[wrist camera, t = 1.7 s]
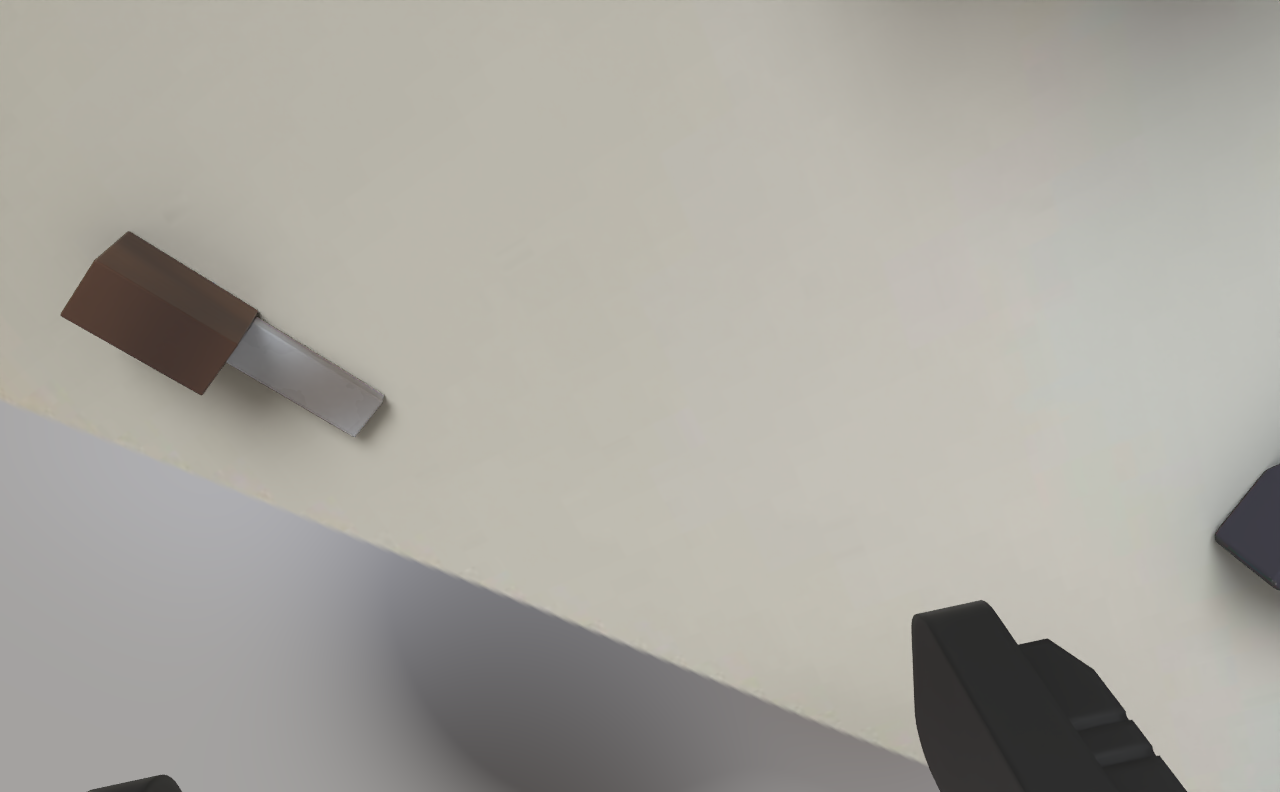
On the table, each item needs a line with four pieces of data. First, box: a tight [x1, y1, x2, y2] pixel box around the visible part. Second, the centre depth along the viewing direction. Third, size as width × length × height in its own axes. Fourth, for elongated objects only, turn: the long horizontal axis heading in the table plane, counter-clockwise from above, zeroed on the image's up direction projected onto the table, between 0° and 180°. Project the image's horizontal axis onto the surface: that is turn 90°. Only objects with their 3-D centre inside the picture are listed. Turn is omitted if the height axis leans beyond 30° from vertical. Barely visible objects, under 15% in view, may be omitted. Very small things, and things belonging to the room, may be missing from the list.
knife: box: [61, 231, 384, 437], centre depth 31 cm, size 10×2×3 cm, turn 50°
